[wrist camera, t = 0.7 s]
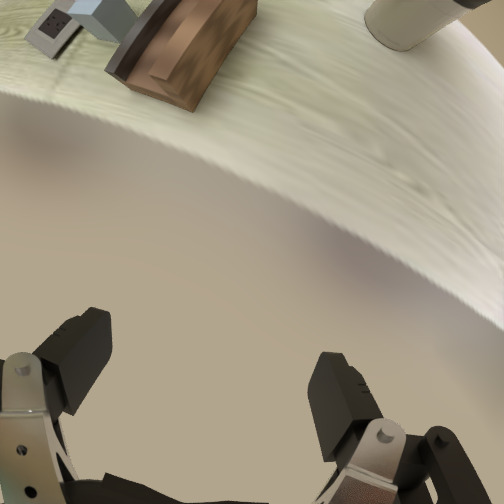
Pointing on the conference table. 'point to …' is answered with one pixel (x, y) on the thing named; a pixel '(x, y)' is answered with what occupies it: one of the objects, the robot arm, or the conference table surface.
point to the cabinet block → (104, 18)
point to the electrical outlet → (53, 28)
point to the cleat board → (179, 47)
